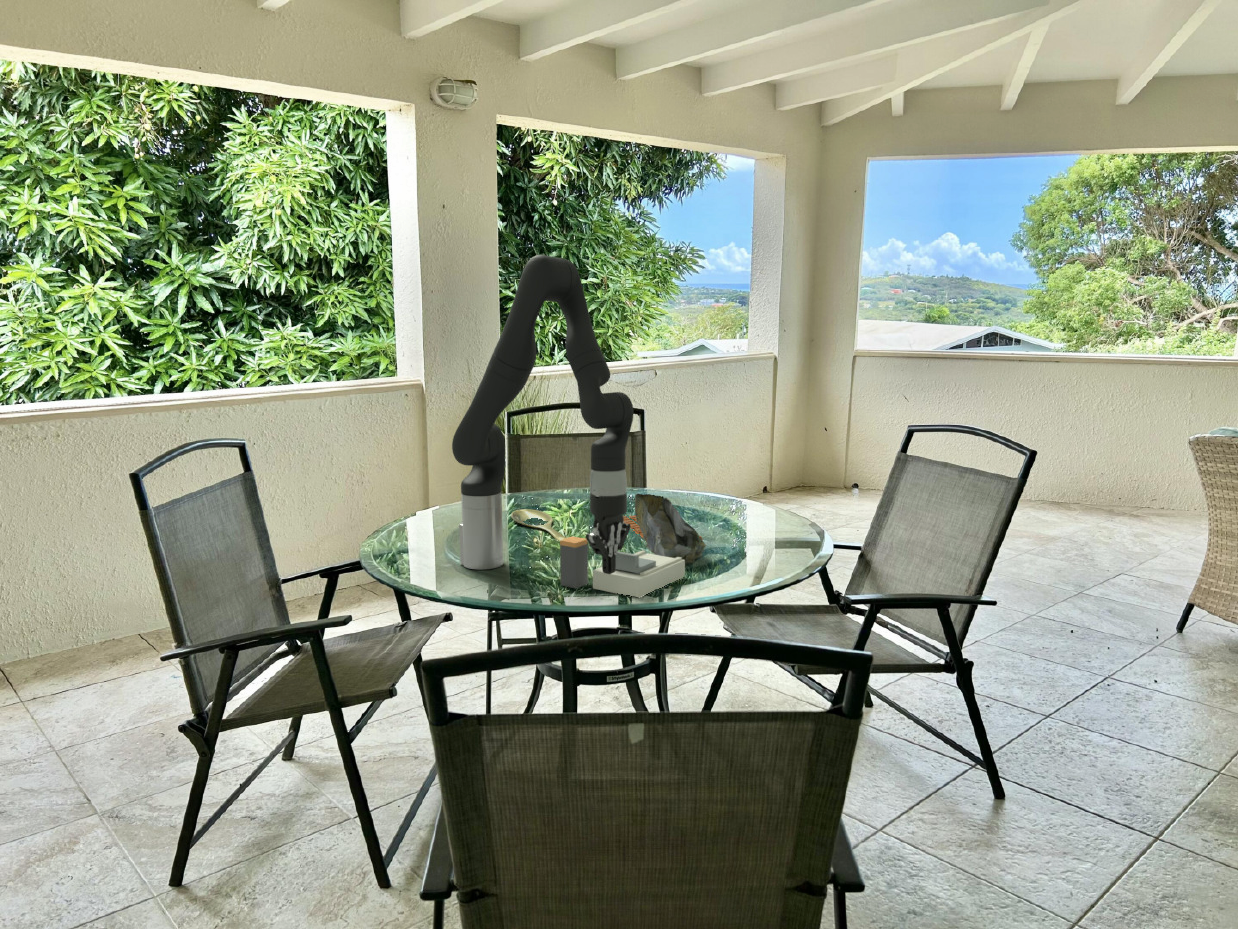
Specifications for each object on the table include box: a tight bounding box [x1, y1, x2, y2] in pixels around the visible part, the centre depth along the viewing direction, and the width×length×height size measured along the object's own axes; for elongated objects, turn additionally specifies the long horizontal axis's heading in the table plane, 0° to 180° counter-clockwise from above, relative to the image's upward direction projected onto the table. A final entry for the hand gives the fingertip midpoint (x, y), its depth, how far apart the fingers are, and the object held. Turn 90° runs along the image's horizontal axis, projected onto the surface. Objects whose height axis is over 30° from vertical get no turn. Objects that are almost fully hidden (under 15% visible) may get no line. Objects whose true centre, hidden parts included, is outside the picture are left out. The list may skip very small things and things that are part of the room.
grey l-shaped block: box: [615, 550, 656, 574], centre depth 195 cm, size 8×7×4 cm
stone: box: [634, 493, 707, 565], centre depth 224 cm, size 17×10×30 cm
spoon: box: [510, 508, 567, 542], centre depth 247 cm, size 35×11×2 cm, turn 26°
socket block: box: [592, 550, 686, 598], centre depth 198 cm, size 12×18×4 cm, turn 145°
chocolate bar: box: [623, 514, 703, 540], centre depth 247 cm, size 14×30×1 cm, turn 19°
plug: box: [559, 536, 589, 589], centre depth 196 cm, size 4×4×10 cm
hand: (608, 572), depth 188 cm, fingers closed
